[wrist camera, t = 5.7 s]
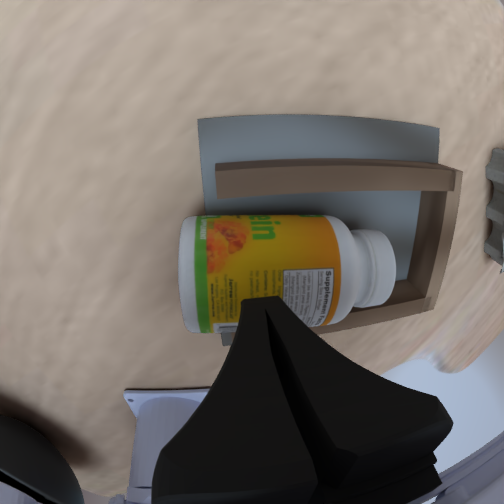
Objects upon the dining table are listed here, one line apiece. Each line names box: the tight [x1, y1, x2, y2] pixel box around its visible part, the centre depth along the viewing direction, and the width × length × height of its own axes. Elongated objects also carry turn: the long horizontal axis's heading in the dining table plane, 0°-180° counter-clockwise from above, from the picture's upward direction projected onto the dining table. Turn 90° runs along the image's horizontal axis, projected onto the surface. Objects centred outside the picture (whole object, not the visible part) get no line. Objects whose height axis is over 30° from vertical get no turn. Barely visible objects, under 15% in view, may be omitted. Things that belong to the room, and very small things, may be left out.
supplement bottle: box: [178, 215, 396, 333], centre depth 14 cm, size 5×5×10 cm
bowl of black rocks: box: [0, 415, 84, 504], centre depth 16 cm, size 20×20×19 cm
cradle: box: [197, 115, 463, 346], centre depth 16 cm, size 14×14×3 cm
